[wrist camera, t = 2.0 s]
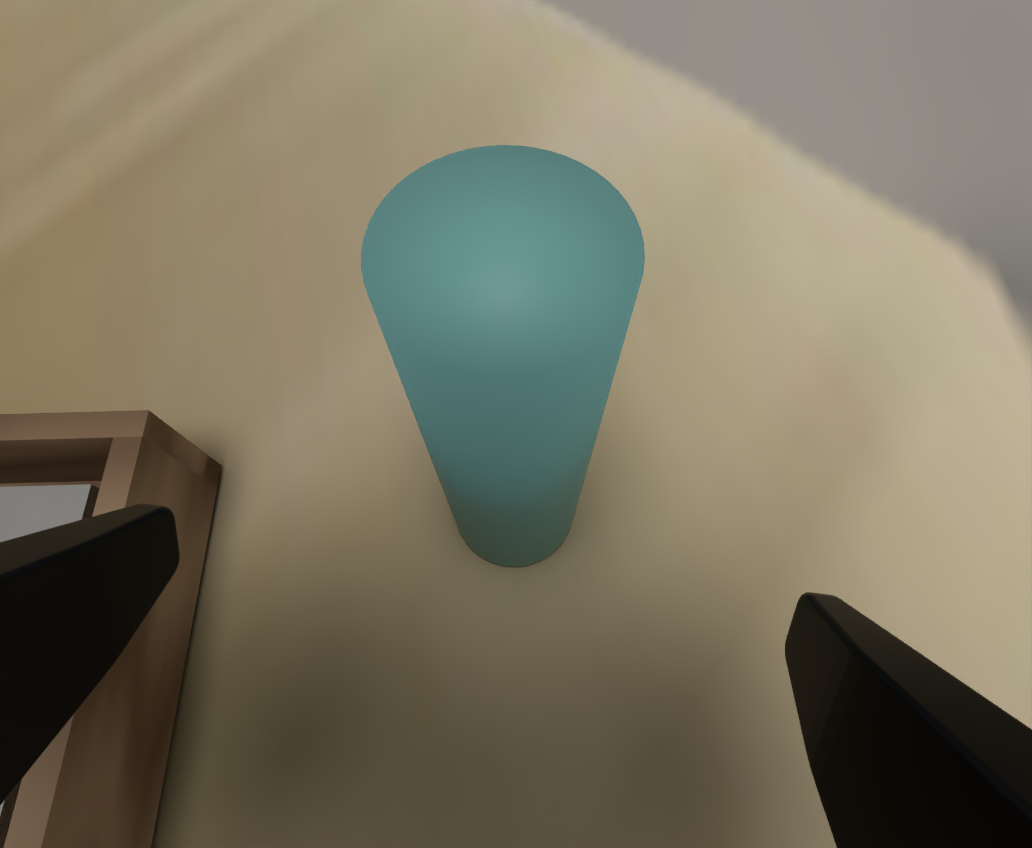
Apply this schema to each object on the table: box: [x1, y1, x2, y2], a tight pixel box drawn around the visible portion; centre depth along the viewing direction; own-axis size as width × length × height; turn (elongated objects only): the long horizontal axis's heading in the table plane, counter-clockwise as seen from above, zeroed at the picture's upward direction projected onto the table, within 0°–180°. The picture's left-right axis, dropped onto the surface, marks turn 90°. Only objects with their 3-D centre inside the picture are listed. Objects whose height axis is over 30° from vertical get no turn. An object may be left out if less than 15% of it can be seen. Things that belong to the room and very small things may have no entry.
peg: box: [361, 145, 645, 567], centre depth 14 cm, size 4×4×13 cm
